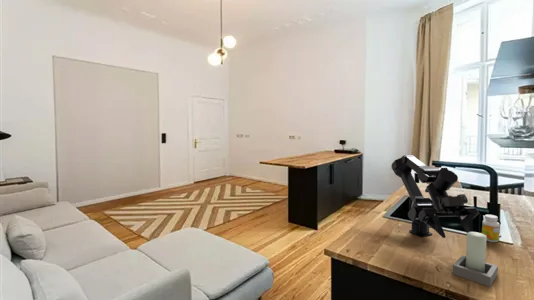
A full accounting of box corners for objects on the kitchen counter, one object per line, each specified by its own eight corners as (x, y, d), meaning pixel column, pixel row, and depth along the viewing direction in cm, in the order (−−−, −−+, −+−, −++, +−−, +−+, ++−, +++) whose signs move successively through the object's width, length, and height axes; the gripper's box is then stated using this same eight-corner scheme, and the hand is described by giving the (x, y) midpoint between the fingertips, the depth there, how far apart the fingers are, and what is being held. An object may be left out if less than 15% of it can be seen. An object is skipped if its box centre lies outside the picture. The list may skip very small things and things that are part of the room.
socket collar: (461, 263, 92) (462, 255, 92) (497, 274, 85) (497, 265, 85) (452, 273, 86) (453, 264, 86) (490, 287, 79) (490, 277, 79)
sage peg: (468, 268, 89) (470, 230, 88) (486, 275, 85) (488, 235, 84) (462, 273, 86) (464, 234, 85) (481, 280, 83) (483, 239, 81)
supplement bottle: (478, 237, 112) (479, 214, 111) (490, 236, 113) (491, 213, 112) (489, 242, 107) (491, 218, 106) (502, 241, 107) (503, 218, 106)
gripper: (423, 186, 97) (441, 228, 87) (476, 185, 96) (500, 227, 87) (411, 201, 106) (426, 241, 96) (460, 200, 105) (480, 240, 95)
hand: (458, 237), depth 93 cm, fingers open, 9 cm apart
